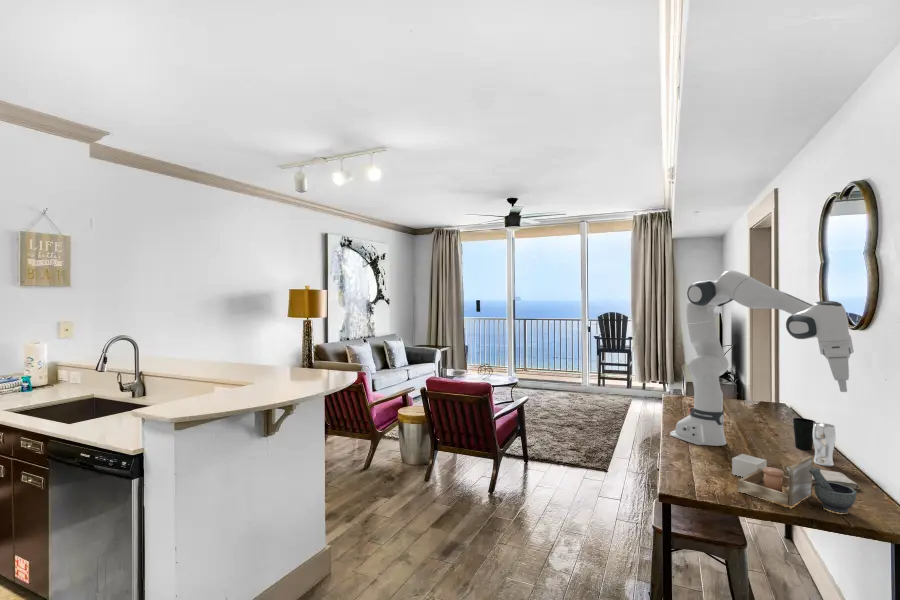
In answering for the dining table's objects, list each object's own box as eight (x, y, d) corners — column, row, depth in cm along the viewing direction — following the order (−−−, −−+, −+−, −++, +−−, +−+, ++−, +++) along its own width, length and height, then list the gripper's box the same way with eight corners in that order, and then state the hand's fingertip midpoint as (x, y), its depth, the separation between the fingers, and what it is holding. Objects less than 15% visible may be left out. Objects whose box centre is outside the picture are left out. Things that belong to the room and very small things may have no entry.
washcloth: (783, 472, 171) (784, 463, 171) (843, 478, 165) (843, 470, 165) (796, 484, 160) (796, 475, 160) (860, 492, 154) (860, 482, 154)
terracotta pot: (759, 490, 152) (759, 469, 152) (766, 486, 155) (767, 465, 155) (779, 496, 147) (779, 474, 147) (786, 492, 151) (786, 471, 151)
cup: (819, 452, 192) (819, 423, 192) (798, 450, 193) (798, 422, 193) (808, 446, 199) (809, 418, 199) (788, 444, 201) (789, 417, 201)
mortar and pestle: (852, 508, 141) (853, 469, 141) (859, 521, 133) (860, 479, 133) (806, 499, 147) (807, 461, 147) (810, 511, 139) (811, 471, 139)
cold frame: (737, 492, 152) (738, 453, 152) (759, 480, 162) (760, 443, 162) (791, 509, 140) (792, 467, 140) (811, 495, 150) (812, 456, 150)
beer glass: (826, 467, 174) (826, 427, 174) (807, 461, 181) (808, 423, 181) (839, 465, 176) (840, 426, 176) (820, 459, 183) (821, 421, 183)
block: (732, 474, 167) (732, 458, 167) (742, 469, 172) (742, 453, 172) (756, 481, 160) (757, 464, 160) (766, 476, 165) (766, 460, 165)
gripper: (824, 344, 168) (830, 382, 167) (824, 353, 152) (831, 395, 151) (846, 343, 164) (853, 381, 163) (849, 352, 148) (857, 395, 147)
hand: (843, 388), depth 157 cm, fingers open, 8 cm apart
